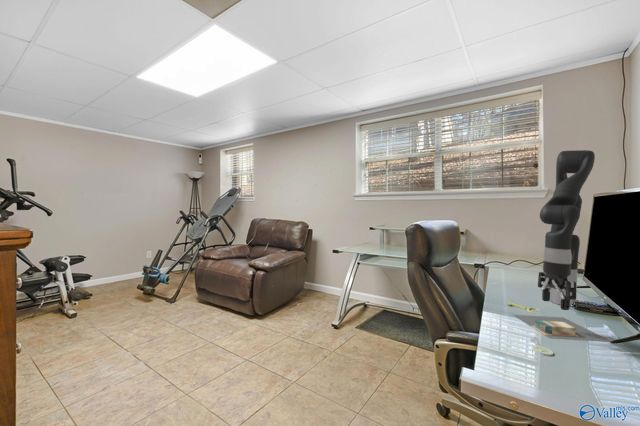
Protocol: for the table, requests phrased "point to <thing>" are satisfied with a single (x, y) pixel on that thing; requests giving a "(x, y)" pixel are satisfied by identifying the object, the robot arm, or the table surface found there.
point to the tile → (555, 327)
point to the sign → (542, 350)
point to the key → (522, 307)
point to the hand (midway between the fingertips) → (554, 305)
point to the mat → (580, 334)
